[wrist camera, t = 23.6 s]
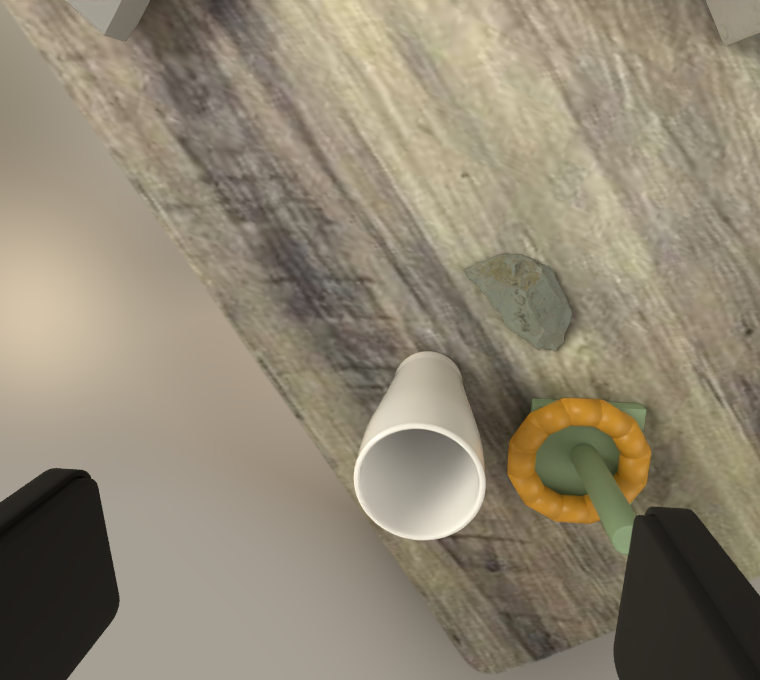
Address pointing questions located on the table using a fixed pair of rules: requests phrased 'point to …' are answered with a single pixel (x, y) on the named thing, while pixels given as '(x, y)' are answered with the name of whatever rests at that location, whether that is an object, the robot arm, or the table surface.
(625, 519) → the rack
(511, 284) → the rock
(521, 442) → the ring
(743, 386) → the table surface
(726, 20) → the toppled traffic bollard
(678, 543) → the robot arm
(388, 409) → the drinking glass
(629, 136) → the table surface
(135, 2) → the flat grey box
